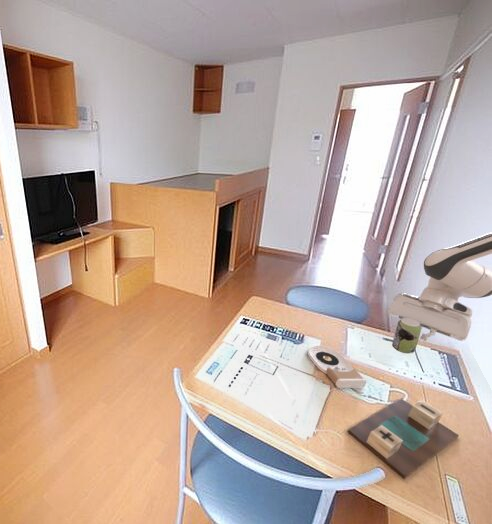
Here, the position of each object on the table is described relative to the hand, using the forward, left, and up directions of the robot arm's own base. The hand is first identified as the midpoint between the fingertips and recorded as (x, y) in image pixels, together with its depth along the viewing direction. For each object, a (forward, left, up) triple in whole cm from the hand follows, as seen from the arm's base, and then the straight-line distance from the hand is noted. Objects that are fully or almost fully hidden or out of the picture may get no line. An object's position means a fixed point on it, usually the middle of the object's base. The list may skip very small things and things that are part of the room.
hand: (416, 337), depth 101 cm
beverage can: (+1, +1, -6) cm, 6 cm away
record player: (+12, +19, -15) cm, 28 cm away
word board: (-14, +27, -15) cm, 34 cm away
